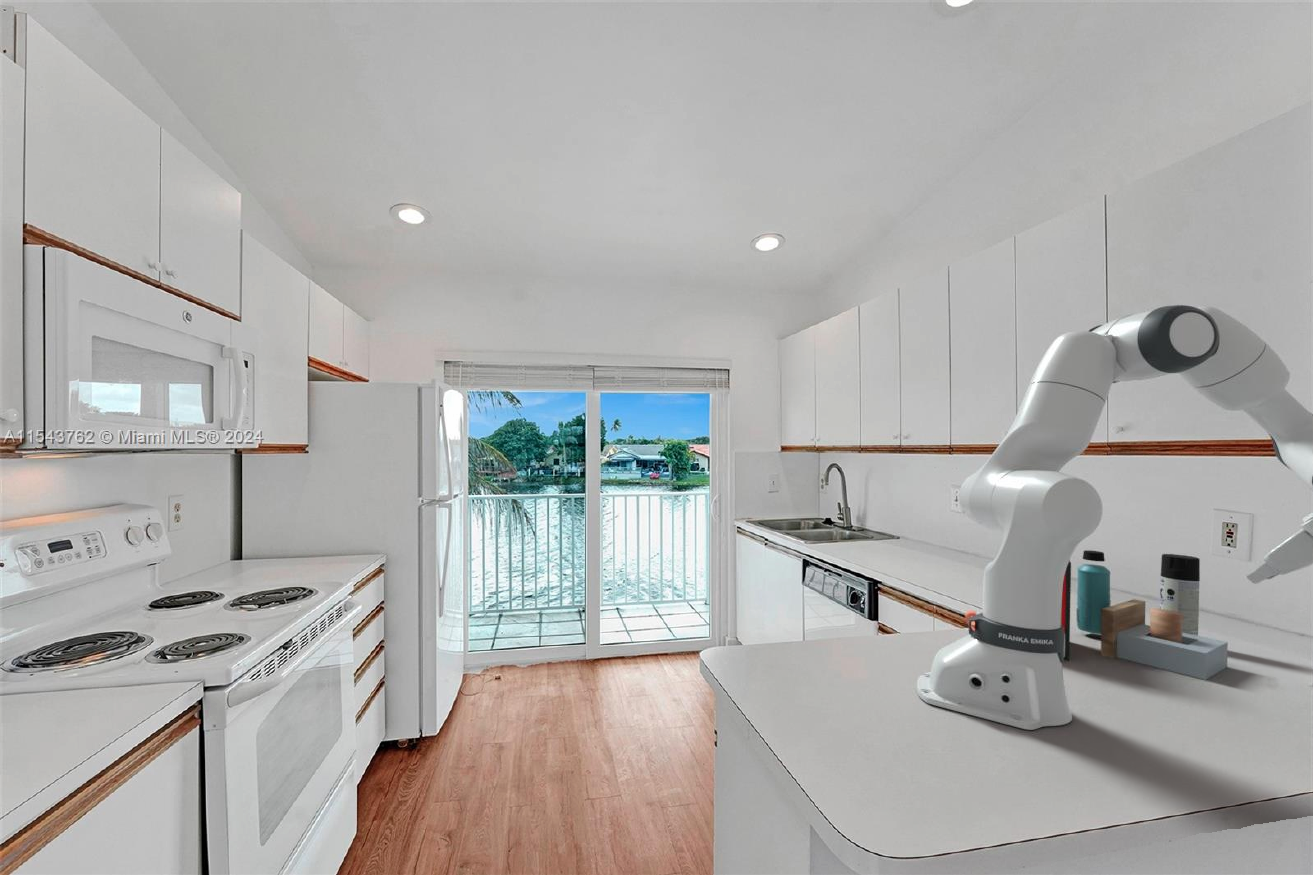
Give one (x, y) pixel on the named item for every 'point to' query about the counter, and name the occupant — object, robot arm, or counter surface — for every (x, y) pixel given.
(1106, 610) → the backstop board
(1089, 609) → the beverage bottle
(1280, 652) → the counter surface
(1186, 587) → the spray can
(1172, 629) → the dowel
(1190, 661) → the square socket block
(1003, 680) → the robot arm
